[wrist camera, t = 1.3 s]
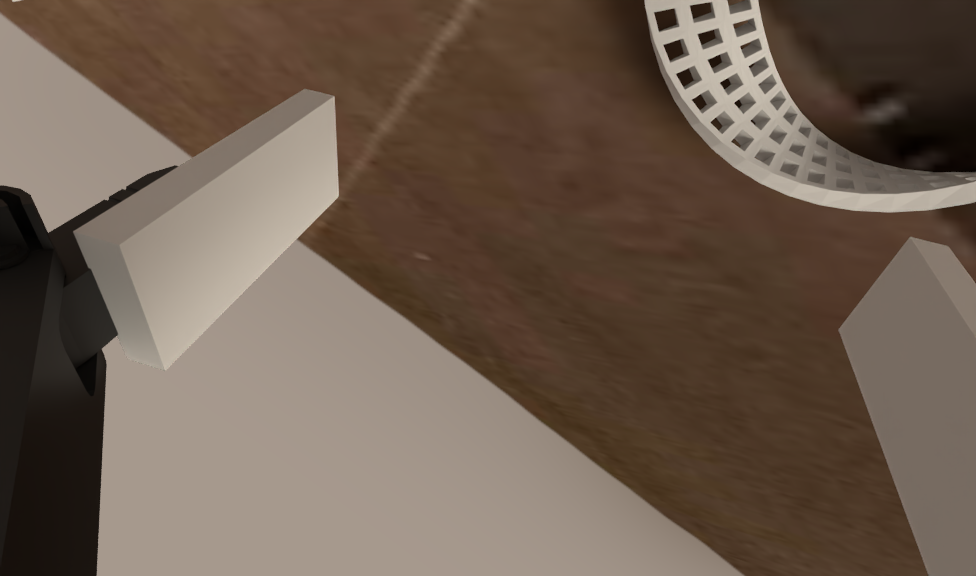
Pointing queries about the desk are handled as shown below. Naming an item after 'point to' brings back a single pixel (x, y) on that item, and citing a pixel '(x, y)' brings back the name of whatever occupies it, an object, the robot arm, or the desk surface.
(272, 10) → the desk surface
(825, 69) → the desk surface
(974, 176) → the decorative object
